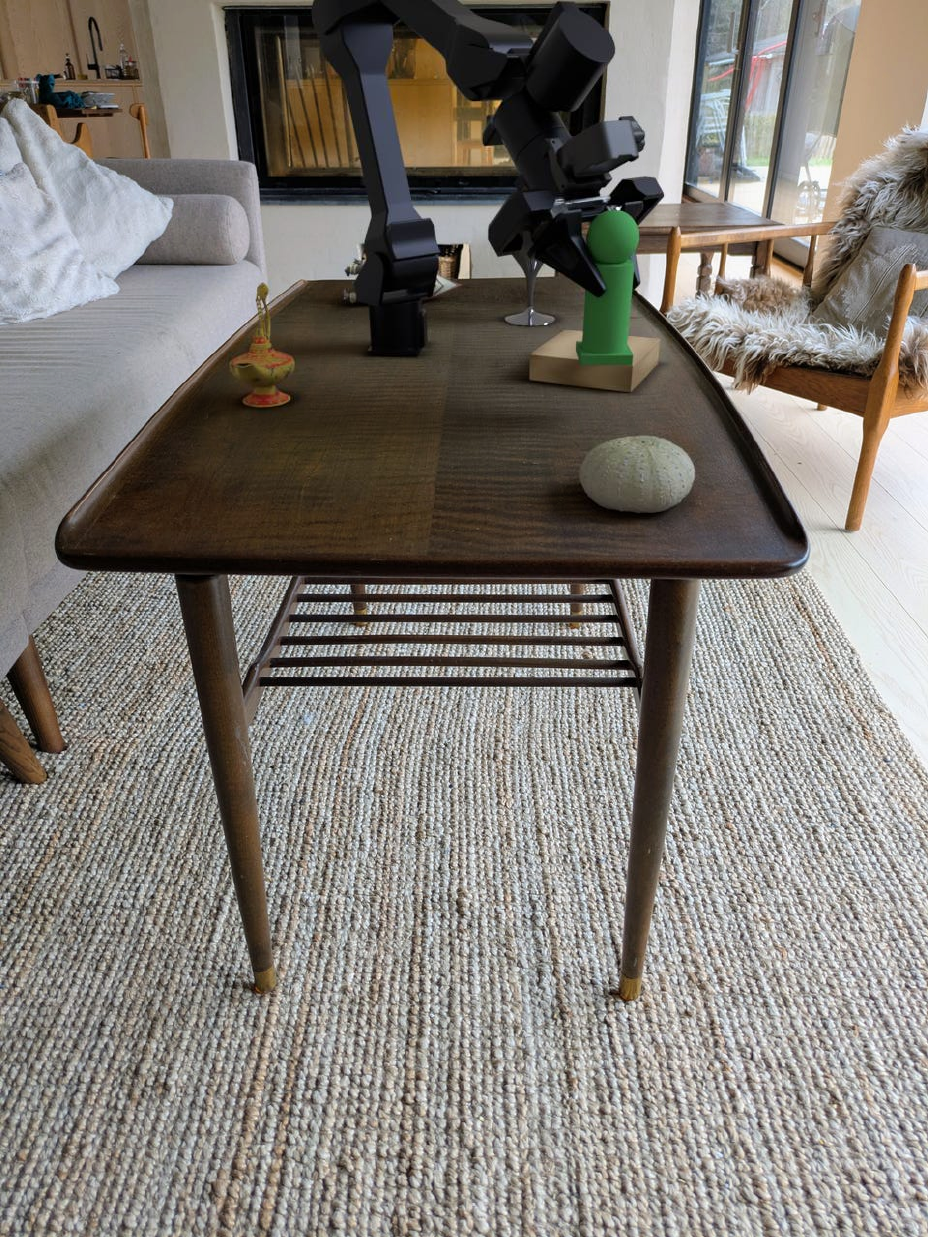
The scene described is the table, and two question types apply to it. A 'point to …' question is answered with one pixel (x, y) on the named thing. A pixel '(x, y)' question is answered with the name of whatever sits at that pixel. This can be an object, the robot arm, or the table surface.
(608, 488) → the sea urchin shell
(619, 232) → the green toy
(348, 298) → the figurine
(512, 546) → the table surface
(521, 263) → the wine glass
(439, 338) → the table surface
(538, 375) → the wooden block
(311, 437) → the table surface
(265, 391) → the magic lamp
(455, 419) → the table surface
